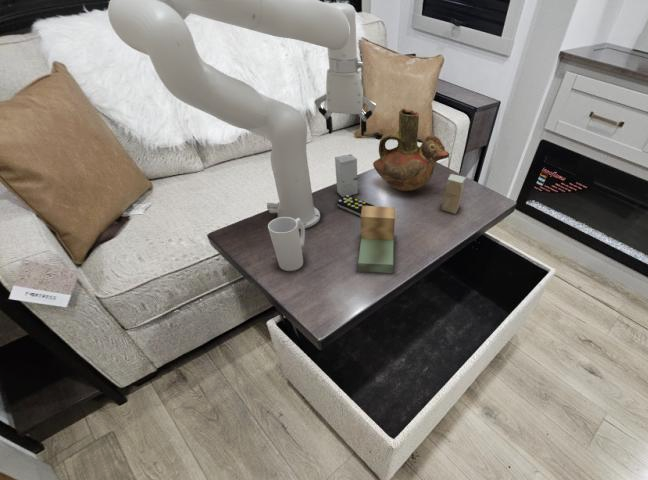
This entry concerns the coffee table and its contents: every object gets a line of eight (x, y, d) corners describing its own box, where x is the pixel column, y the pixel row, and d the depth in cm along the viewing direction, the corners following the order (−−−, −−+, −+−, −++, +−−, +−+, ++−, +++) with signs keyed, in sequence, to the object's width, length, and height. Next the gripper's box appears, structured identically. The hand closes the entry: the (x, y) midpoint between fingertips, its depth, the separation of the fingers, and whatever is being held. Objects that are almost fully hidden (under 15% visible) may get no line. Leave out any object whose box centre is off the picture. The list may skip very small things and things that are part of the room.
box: (441, 210, 111) (446, 178, 103) (444, 204, 114) (450, 172, 106) (456, 214, 110) (462, 182, 102) (459, 208, 113) (466, 176, 105)
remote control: (366, 219, 105) (366, 214, 103) (335, 206, 109) (334, 200, 107) (378, 211, 108) (378, 206, 107) (347, 198, 113) (347, 193, 111)
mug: (292, 275, 85) (283, 236, 76) (272, 266, 87) (261, 227, 78) (317, 254, 91) (312, 216, 83) (298, 246, 93) (290, 208, 85)
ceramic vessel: (439, 205, 113) (452, 127, 95) (365, 192, 116) (365, 114, 98) (446, 182, 125) (458, 109, 107) (379, 171, 128) (380, 97, 110)
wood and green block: (358, 271, 88) (357, 240, 80) (362, 235, 99) (362, 205, 92) (392, 273, 88) (394, 242, 81) (393, 237, 99) (395, 207, 92)
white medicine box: (342, 197, 113) (340, 162, 104) (336, 192, 115) (333, 156, 107) (358, 193, 115) (357, 158, 107) (352, 188, 118) (351, 153, 109)
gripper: (376, 64, 92) (376, 130, 104) (313, 59, 91) (320, 126, 103) (375, 71, 86) (374, 139, 99) (307, 66, 86) (315, 136, 98)
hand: (346, 133), depth 101 cm, fingers open, 9 cm apart
